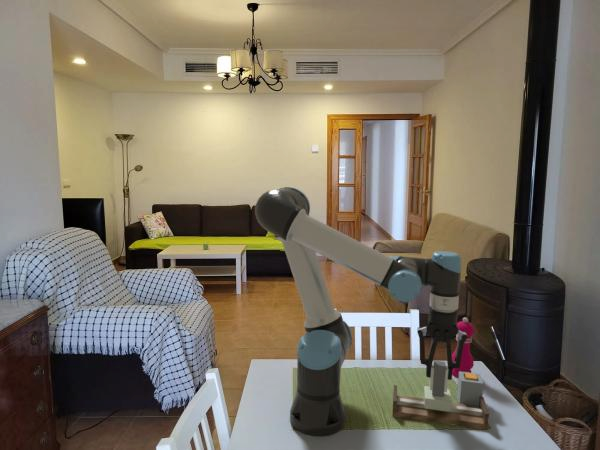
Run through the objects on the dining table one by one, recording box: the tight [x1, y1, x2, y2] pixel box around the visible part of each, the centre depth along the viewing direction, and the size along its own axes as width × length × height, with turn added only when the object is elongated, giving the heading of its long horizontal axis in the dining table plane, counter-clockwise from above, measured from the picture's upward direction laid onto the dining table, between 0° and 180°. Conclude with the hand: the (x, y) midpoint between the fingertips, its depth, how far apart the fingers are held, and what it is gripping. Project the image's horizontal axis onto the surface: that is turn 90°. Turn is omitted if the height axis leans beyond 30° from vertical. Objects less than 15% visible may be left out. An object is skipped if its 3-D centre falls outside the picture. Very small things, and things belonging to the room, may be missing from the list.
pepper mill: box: [452, 317, 475, 378], centre depth 147 cm, size 7×7×20 cm
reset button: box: [465, 372, 477, 381], centre depth 130 cm, size 3×3×6 cm
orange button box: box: [456, 371, 484, 406], centre depth 130 cm, size 6×6×8 cm
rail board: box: [391, 384, 490, 430], centre depth 125 cm, size 25×9×4 cm, turn 77°
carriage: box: [423, 360, 453, 412], centre depth 124 cm, size 7×7×12 cm
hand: (437, 388), depth 124 cm, fingers closed on carriage, 3 cm apart
